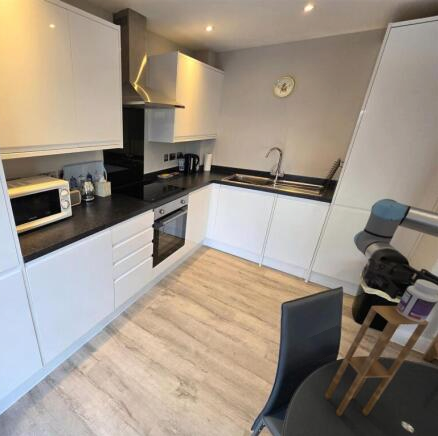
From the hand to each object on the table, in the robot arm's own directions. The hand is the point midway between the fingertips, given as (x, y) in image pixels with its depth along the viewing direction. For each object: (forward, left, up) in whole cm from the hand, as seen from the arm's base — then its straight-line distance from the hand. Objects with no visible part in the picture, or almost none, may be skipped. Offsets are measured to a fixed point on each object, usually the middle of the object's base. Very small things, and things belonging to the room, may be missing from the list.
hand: (431, 302), depth 57 cm
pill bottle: (+1, -3, -7) cm, 8 cm away
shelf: (+3, -2, -7) cm, 8 cm away
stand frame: (+3, -2, -45) cm, 45 cm away
